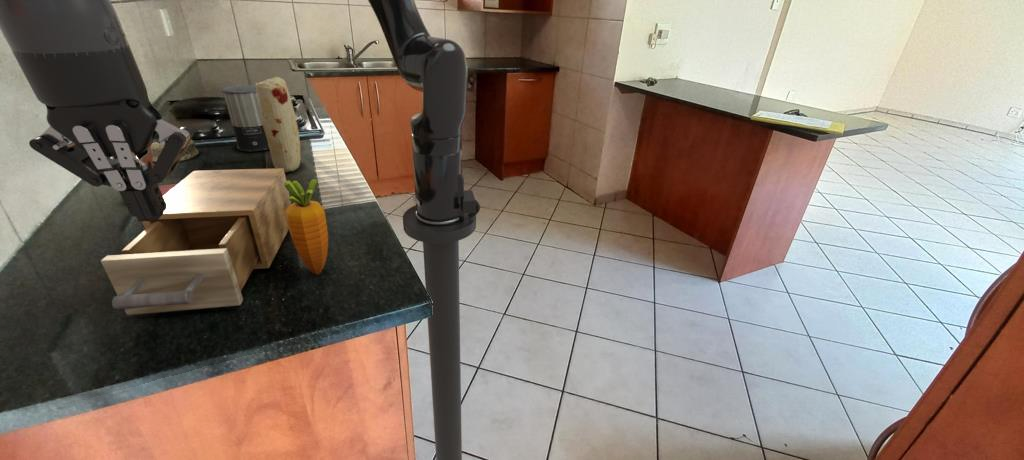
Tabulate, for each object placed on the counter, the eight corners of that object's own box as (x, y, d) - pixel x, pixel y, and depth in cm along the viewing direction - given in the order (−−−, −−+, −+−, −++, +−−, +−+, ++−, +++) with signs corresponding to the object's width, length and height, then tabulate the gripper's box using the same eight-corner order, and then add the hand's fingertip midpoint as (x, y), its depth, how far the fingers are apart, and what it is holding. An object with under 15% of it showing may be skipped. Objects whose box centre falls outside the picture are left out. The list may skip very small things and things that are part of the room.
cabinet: (269, 268, 63) (253, 210, 58) (163, 275, 60) (138, 215, 55) (294, 218, 77) (283, 168, 72) (210, 222, 74) (193, 170, 70)
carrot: (337, 263, 65) (321, 171, 58) (334, 282, 61) (316, 184, 53) (302, 267, 63) (280, 172, 56) (296, 286, 59) (272, 187, 52)
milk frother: (241, 154, 105) (225, 92, 98) (226, 139, 115) (210, 82, 108) (301, 145, 114) (290, 87, 106) (282, 131, 124) (271, 78, 117)
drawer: (226, 331, 50) (206, 276, 46) (101, 344, 47) (70, 286, 43) (273, 244, 67) (262, 199, 63) (184, 249, 65) (167, 203, 61)
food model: (303, 174, 96) (285, 81, 86) (270, 176, 93) (248, 82, 84) (306, 160, 104) (289, 74, 94) (275, 162, 101) (255, 74, 92)
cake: (209, 153, 106) (204, 132, 104) (176, 167, 98) (170, 144, 95) (172, 146, 107) (166, 125, 104) (136, 159, 98) (129, 137, 96)
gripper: (178, 38, 41) (232, 197, 50) (11, 36, 38) (100, 206, 47) (138, 50, 35) (208, 230, 44) (-64, 49, 32) (54, 241, 41)
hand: (152, 217), depth 45 cm, fingers closed
